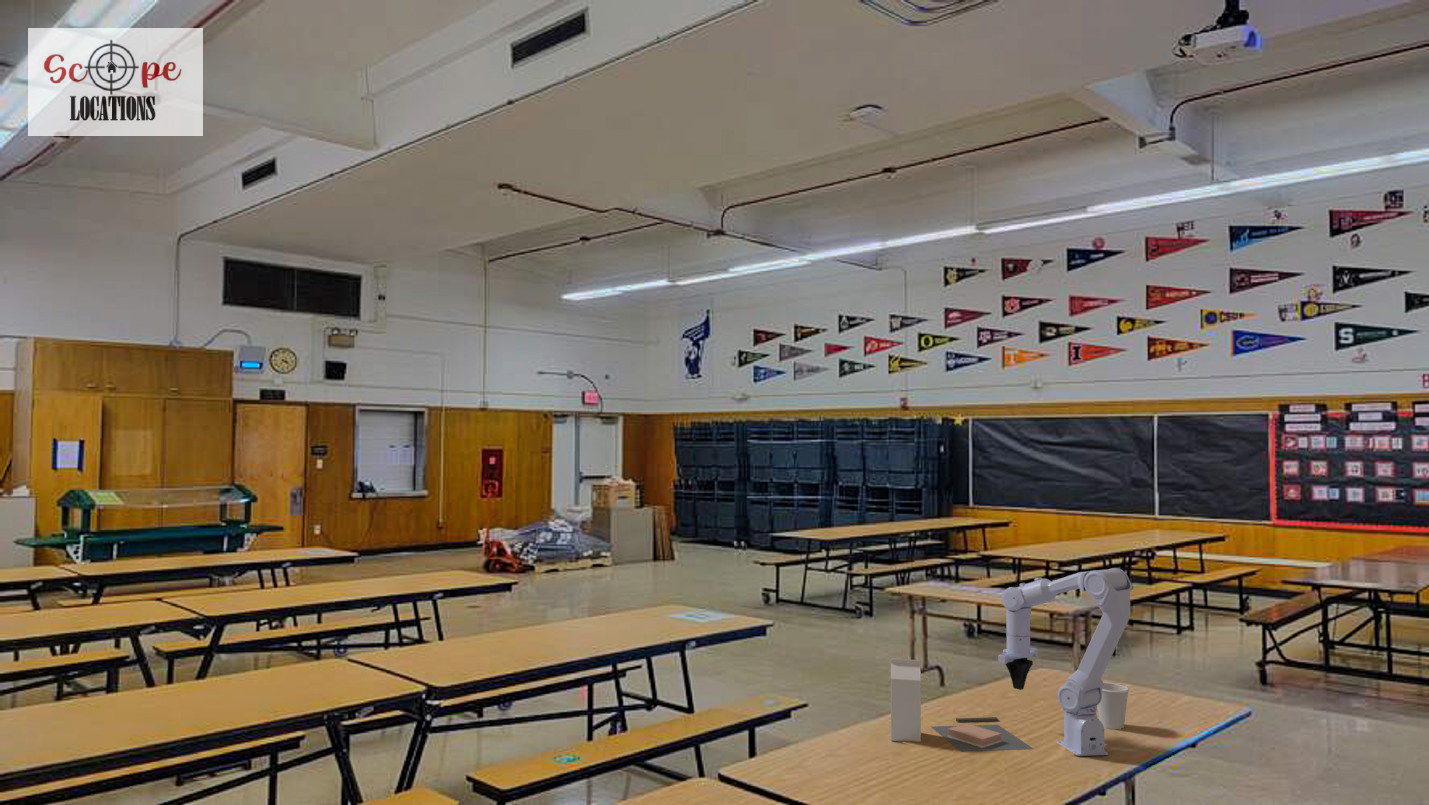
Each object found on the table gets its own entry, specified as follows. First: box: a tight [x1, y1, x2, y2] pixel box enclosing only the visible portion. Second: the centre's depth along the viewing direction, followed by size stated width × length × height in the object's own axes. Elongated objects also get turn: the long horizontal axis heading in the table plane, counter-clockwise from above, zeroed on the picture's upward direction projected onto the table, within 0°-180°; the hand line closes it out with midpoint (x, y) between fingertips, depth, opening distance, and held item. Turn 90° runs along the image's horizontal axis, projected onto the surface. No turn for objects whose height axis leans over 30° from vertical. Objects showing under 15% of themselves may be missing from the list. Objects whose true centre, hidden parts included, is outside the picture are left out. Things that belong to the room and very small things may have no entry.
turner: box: [955, 716, 999, 723], centre depth 233 cm, size 19×7×1 cm, turn 98°
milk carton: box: [890, 658, 922, 742], centre depth 221 cm, size 7×7×19 cm
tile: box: [948, 722, 1001, 748], centre depth 219 cm, size 2×10×8 cm
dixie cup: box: [1097, 682, 1130, 730], centre depth 233 cm, size 8×8×10 cm
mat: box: [931, 724, 1034, 753], centre depth 220 cm, size 19×18×1 cm
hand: (1018, 688), depth 229 cm, fingers closed
